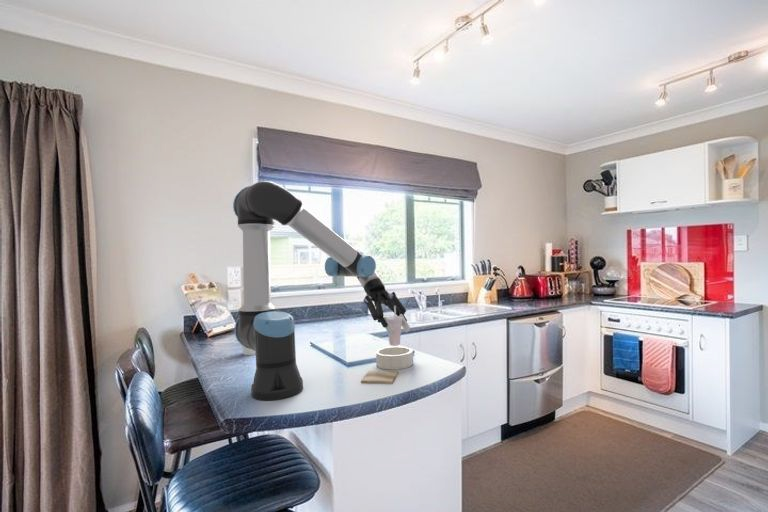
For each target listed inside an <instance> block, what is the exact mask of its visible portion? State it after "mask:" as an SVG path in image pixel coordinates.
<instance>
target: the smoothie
mask: <svg viewBox="0 0 768 512" xmlns="http://www.w3.org/2000/svg"><path fill="white" fill-rule="evenodd" d="M393 313H394V315H392V316H391V315H390V316H386V317H387V319H388V320H389V322H390V324H391V326H392V327H393V329H394V333H393V335H392V336H390V335H389V334H388V333H387V335H388V341H389V342H388V344H389V345H390V346H391V347H395V346H400V345H401V336H402V321H403V317H400V316H397V315H396V306H394V312H393Z"/></svg>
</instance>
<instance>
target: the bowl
mask: <svg viewBox="0 0 768 512" xmlns="http://www.w3.org/2000/svg"><path fill="white" fill-rule="evenodd" d="M375 354H376V355H375V358H376V366H377V368H379V369H382V370H385V371H386V370H387V371H396V370H403V369H407V368H410V367H413V364H414V355H413V354H414V351H413V349H412V348H411V347H407V346H400V345H397V346H386V347H382V348H379V349H377V350H375Z"/></svg>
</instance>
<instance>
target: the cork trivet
mask: <svg viewBox="0 0 768 512" xmlns="http://www.w3.org/2000/svg"><path fill="white" fill-rule="evenodd" d="M398 374H399V371H396V370H387V371H386V370H382V371H381V370H368V372H366V374H365V375H364V377H362V379H361V380H360V383H361V384H390V385H391V384H394V382H395V380H396V377H397V376H398Z"/></svg>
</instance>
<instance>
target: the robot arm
mask: <svg viewBox="0 0 768 512" xmlns="http://www.w3.org/2000/svg"><path fill="white" fill-rule="evenodd" d="M232 203H233V204H232V208H233V209H232V210H233V212H234V215H235V216H236V217H237V227H238V228H239V229H240V231H242V276H243V277H242V278H243V279H242V282H243V283H242V284H243V286H242V287H243V293H242V294H243V304H242V305H241V307H239V308H238V319H236V322H235V324H234V335H235V336H234V337H235V338H236V340H237V342H239V343H240V344H241V346H242V345H243V346H244V347H246V348H248V349H252V350H254V351H255V353H256V354H255V368H256V369H255V373H254V375H253V381H252V384H251V386H250V387H251V388H250V390H251V391H250V392H251V393H250V396H251V397H252V398H253V399H255V398H256V400H259V399H260V400H259V401H276V400H281V399H286V398H289V397H292V396H296V395H297V394H300V393H301V392H302V391H303V389H304V381H303V378H302V377H301V374H300V370H299V367H298V365H297V355H296V353H297V352H296V334H295V328H296V326H295V321H294V320H295V319H294V317H293V315H291V313H288V312H285V311H276V307H275V306H274V304H272V299H271V296H272V295H271V294H272V293H271V290H272V289H271V288H272V286H271V231H272V230H273V229H274V228H275V225H276V224H275V221H276V222H279V224H281V226H289V227H290V228H291V229H293V230H294V231H296V232H297V233H298V234H300V235H301V236H302V237H304V239H306V240H308V241H309V243H311V244H312V245H314V246H316V248H318V249H320V250H321V251H322V252H323V253H324V254H325V255H327V256H328V257H327V259H326V260H325V263H324V271H325V274H326V275H327V276H328V277H333V278H334V277H335V278H336V277H356V278H357V280H358V281H359V283H360V285H361V287H362V289H364V291H365V293H366V295H365V297H364V299H363V302H364V304H365V305H366V307H367V308H368V311H369V313H370V315H371V317H372V319H373V321H375V322H376V321H377V322H378V323H379V324H380V323H381V325H382V327H383V328H385V330H386V331H387V335H388V334H389V335H390V336H392V335H393V333H394V329H393V327H392V326H391V324H390V322H389V320H388V319H387V317H388V316H385V315H384V310H383V307H382V305H384V306H385V307H388V308H389V310H390V311H392V312H393V313H394V306H396V316H400V317H403V321H402V326H401V328H402V329H403V330H404V333H408V332H409V331H410V329H411V326H410V325H409V323H408V319H407V318H406V316H405V314H406V312H407V309H406V308H405V306H404V304H403V303H402V302H401V301H400V300H399V299H398V297H397V294H396V292H395V291H392V292H388V291H387V290H386V286H385V284H384V283H383V281H382V279H381V277H380V276H379V275H378V273H377V271H376V269H377V263H376V260H375V258H374V257H372V256H371V255H367V254H365V253H364V252H363V251H358V249H356V248H355V247H353V246H352V245H351V244H350V243H348V242H347V241H346V240H345V239H343V237H341V236H340V235H338V234H337V233H336V232H335V231H334V230H332V229H331V227H329V226H328V225H326V224H325V223H324V222H322V220H320V219H319V218H318V217H317V216H315V215H314V214H313V213H312V212H310V211H309V210H308V209H307V208H305V207H304V203H303V201H302V200H300V199H299V198H298V197H297V196H296V195H294V194H293V193H292V192H291V191H289V190H288V189H286V188H285V187H283V186H282V185H280V184H278V183H276V182H273V181H270V180H269V181H268V180H261V181H258V182H256V183H253V184H252V185H249V186H245V187H244V188H242V189H241V190H239V192H238V193H237V194H236V195H235V197H234V199H233V202H232Z"/></svg>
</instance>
